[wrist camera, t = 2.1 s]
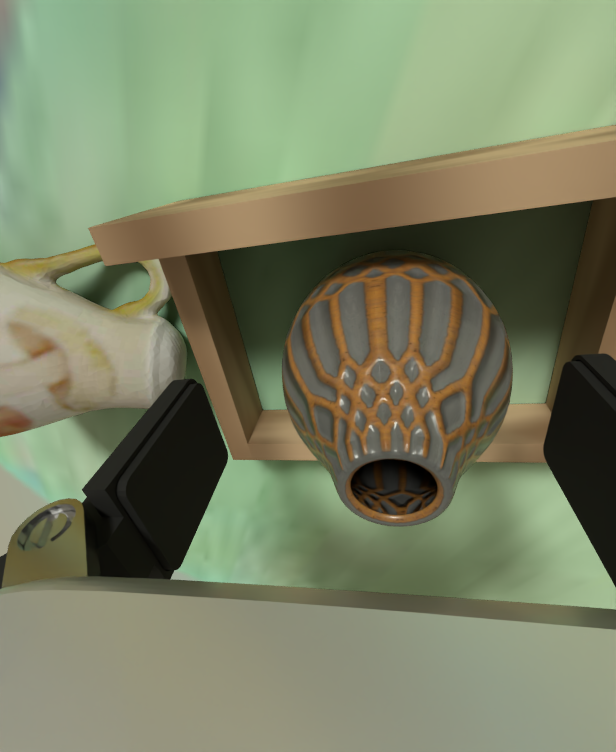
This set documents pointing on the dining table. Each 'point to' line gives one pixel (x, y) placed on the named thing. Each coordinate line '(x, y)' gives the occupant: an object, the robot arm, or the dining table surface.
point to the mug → (79, 345)
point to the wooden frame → (370, 212)
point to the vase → (397, 381)
